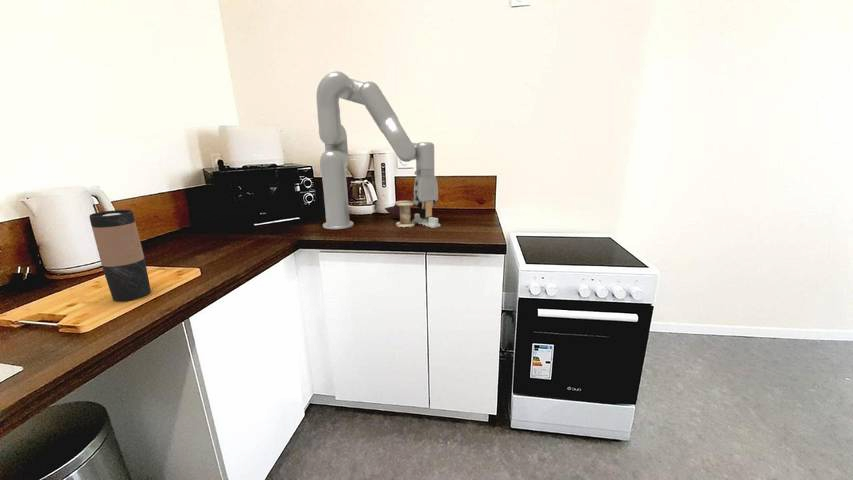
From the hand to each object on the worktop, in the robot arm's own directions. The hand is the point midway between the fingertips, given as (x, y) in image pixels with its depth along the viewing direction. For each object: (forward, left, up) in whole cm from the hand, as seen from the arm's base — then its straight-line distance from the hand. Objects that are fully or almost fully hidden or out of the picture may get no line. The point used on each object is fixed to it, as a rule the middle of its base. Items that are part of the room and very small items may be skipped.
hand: (425, 216), depth 152 cm
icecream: (-18, -3, -4) cm, 18 cm away
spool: (-4, -8, -3) cm, 10 cm away
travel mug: (+10, -99, -4) cm, 100 cm away
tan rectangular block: (0, 0, -1) cm, 1 cm away
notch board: (0, 0, -3) cm, 3 cm away
